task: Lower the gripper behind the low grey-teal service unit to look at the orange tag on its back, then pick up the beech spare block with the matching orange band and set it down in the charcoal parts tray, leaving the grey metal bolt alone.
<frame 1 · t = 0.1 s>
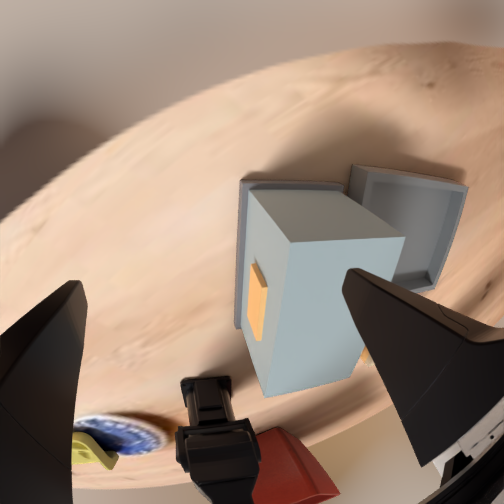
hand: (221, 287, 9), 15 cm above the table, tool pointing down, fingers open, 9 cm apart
parts tray: (398, 234, 29), on the table
plastic component: (68, 441, 37), on the table
cylinder vase: (406, 360, 47), on the table
service unit: (283, 258, 27), on the table
plant pot: (261, 443, 49), on the table
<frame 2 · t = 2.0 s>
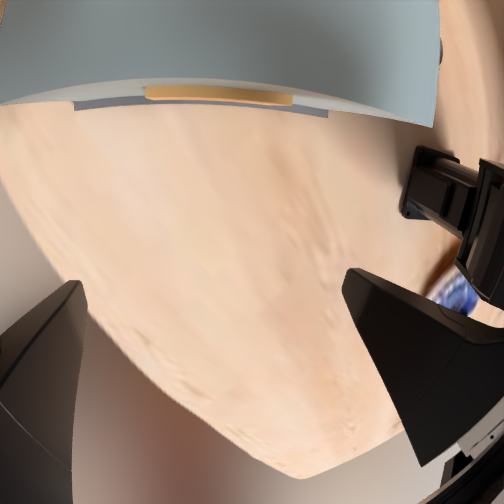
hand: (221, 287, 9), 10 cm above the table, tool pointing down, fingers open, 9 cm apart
service unit: (210, 34, 13), on the table
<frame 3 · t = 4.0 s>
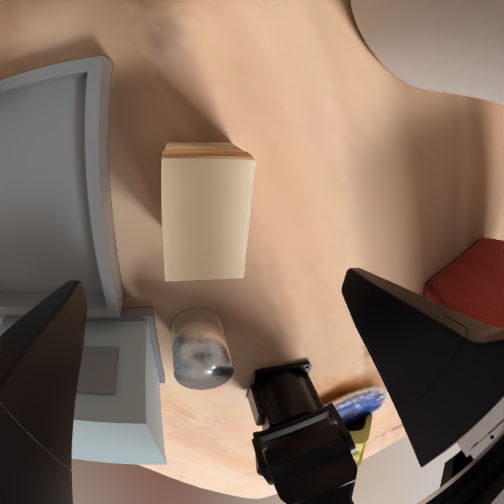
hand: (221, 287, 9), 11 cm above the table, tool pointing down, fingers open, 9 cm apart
grey metal bolt: (196, 327, 23), on the table
parts tray: (20, 198, 14), on the table
plastic component: (340, 437, 50), on the table
cylinder vase: (406, 21, 14), on the table
service unit: (82, 345, 21), on the table
spare block: (197, 187, 18), on the table
plant pot: (451, 289, 32), on the table
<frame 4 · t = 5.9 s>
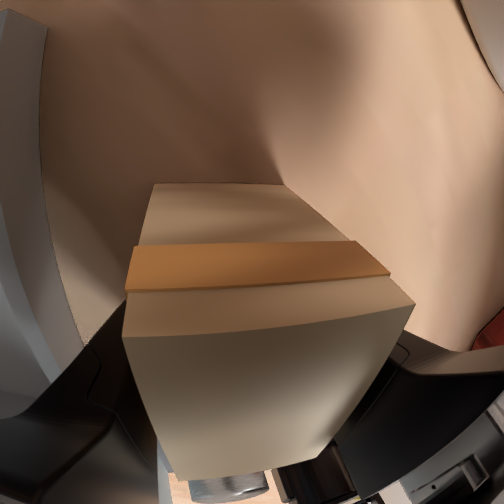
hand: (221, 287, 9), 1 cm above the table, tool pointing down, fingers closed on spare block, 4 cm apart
grey metal bolt: (214, 427, 15), on the table
cylinder vase: (500, 16, 6), on the table
service unit: (67, 437, 13), on the table
spare block: (217, 269, 10), on the table, touching gripper
plant pot: (494, 331, 24), on the table
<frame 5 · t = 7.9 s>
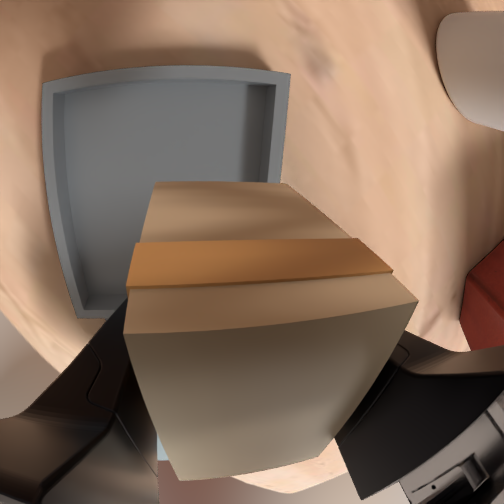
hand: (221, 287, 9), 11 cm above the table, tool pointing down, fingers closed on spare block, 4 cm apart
parts tray: (161, 195, 18), on the table
cylinder vase: (466, 67, 18), on the table
spare block: (218, 268, 10), point 10 cm above the table, touching gripper
plant pot: (483, 280, 35), on the table
when the fingers open (3 cm above the table, at t = 10.3 s): spare block drops 1 cm, resting on parts tray.
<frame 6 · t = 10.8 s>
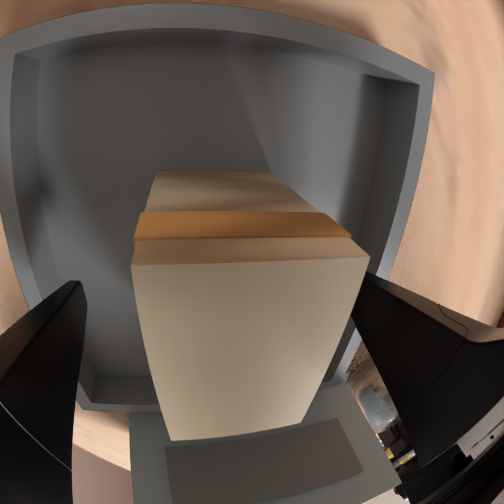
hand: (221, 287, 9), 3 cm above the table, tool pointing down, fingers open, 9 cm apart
grey metal bolt: (370, 371, 20), on the table
parts tray: (209, 243, 11), on the table
service unit: (236, 413, 18), on the table
spare block: (211, 249, 11), point 1 cm above the table, touching parts tray
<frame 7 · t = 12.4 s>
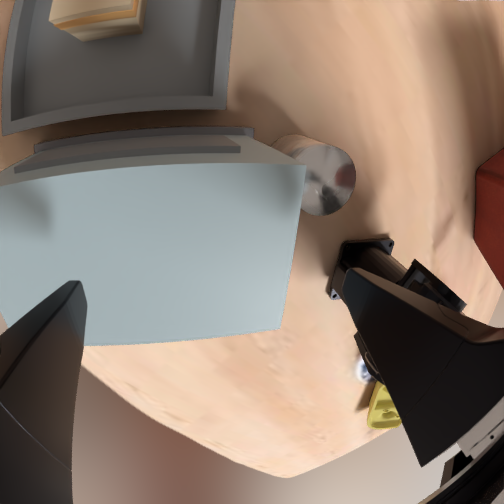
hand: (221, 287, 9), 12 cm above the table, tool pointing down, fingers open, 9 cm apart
grey metal bolt: (293, 163, 20), on the table
parts tray: (119, 2, 11), on the table
plastic component: (386, 385, 48), on the table
service unit: (140, 192, 18), on the table
plant pot: (493, 191, 29), on the table
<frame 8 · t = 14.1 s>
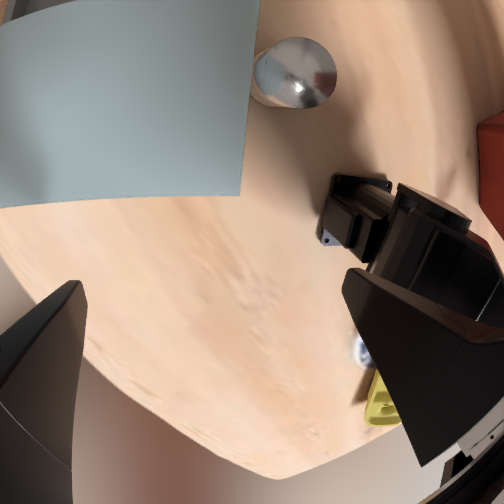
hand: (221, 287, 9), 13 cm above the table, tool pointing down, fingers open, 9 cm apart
grey metal bolt: (274, 78, 17), on the table
plastic component: (386, 376, 44), on the table
service unit: (114, 100, 15), on the table
plant pot: (497, 156, 26), on the table
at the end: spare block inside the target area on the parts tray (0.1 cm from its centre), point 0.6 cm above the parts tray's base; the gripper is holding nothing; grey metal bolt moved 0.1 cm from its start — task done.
